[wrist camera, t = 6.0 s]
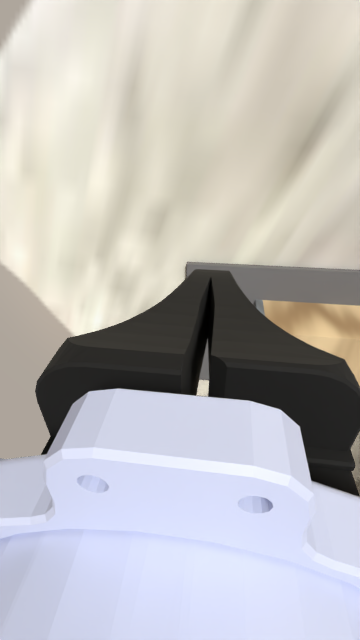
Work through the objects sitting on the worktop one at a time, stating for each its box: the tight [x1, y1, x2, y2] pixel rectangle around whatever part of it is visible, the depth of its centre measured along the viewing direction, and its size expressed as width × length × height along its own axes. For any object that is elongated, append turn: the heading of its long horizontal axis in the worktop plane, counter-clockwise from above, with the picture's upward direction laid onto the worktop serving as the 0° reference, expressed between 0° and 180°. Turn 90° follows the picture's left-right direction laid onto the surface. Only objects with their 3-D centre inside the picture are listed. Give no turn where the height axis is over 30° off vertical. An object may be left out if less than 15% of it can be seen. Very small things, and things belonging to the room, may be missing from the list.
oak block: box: [255, 300, 360, 386], centre depth 23 cm, size 4×6×8 cm
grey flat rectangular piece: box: [187, 262, 360, 380], centre depth 25 cm, size 15×11×1 cm
